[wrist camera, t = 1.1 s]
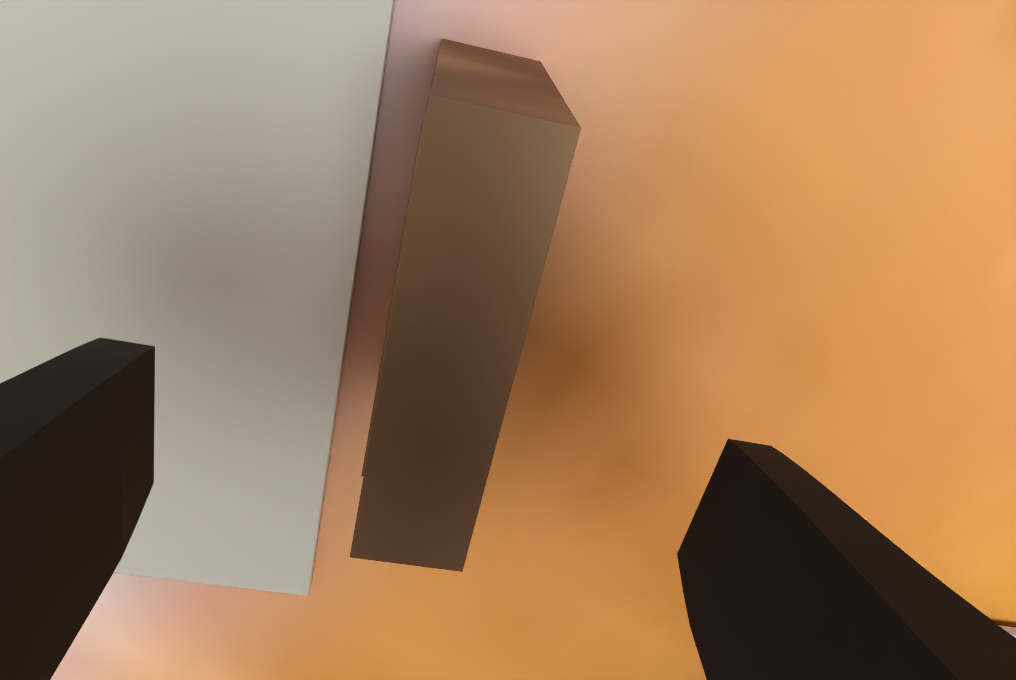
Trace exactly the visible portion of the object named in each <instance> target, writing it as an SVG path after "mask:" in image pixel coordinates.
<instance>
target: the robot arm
mask: <svg viewBox="0 0 1016 680" xmlns="http://www.w3.org/2000/svg"><path fill="white" fill-rule="evenodd" d="M154 405H155V346H150V345H144V344H138V343H132V342H126V341H120V340H113V339H107V338H101V337H100V338H97V339H95V340H92V341H90V342H87V343H85V344H83V345H80V346H78V347H76V348H74V349H71V350H69V351H67V352H65V353H63V354H61V355H59V356H56V357H54V358H52V359H50V360H48V361H46V362H44V363H42V364H40V365H38V366H35V367H33V368H31V369H29V370H27V371H25V372H23V373H21V374H19V375H17V376H15V377H13V378H11V379H8V380H6V381H4V382H2V383H0V680H50V679H51V677H52V676H53V674H54V672H55V671H56V669H57V667H58V666H59V664H60V662H61V661H62V659H63V657H64V656H65V654H66V652H67V651H68V649H69V647H70V646H71V644H72V642H73V640H74V639H75V637H76V635H77V634H78V632H79V630H80V629H81V627H82V625H83V624H84V622H85V620H86V619H87V617H88V615H89V614H90V612H91V610H92V608H93V607H94V605H95V603H96V602H97V600H98V598H99V596H100V595H101V593H102V591H103V590H104V588H105V586H106V584H107V583H108V581H109V579H110V578H111V576H112V574H113V572H114V571H115V569H116V567H117V565H118V564H119V562H120V560H121V558H122V557H123V554H124V552H125V550H126V547H127V545H128V543H129V541H130V538H131V536H132V534H133V532H134V529H135V527H136V525H137V522H138V520H139V518H140V515H141V513H142V510H143V508H144V506H145V503H146V501H147V498H148V496H149V493H150V491H151V489H152V486H153V484H154ZM677 556H678V562H679V568H680V574H681V580H682V587H683V593H684V598H685V603H686V608H687V613H688V618H689V623H690V627H691V631H692V634H693V637H694V640H695V644H696V647H697V650H698V653H699V656H700V660H701V663H702V666H703V669H704V672H705V675H706V678H707V680H1016V628H1015V627H1008V626H1000V625H997V624H996V623H995V622H993V621H992V620H991V619H990V618H988V617H987V616H986V615H984V614H983V613H982V612H980V611H979V610H978V609H976V608H975V607H974V606H972V605H971V604H970V603H968V602H967V601H966V600H964V599H963V598H962V597H961V596H959V595H958V594H957V593H955V592H954V591H953V590H951V589H950V588H949V587H947V586H946V585H945V584H944V583H942V582H941V581H940V580H939V579H937V578H936V577H935V576H934V575H932V574H931V573H930V572H929V571H927V570H926V569H925V568H923V567H922V566H921V565H920V564H918V563H917V562H916V561H915V560H914V559H912V558H911V557H910V556H909V555H907V554H906V553H905V552H904V551H902V550H901V549H900V548H899V547H898V546H896V545H895V544H894V543H893V542H891V541H890V540H889V539H888V538H887V537H885V536H884V535H883V534H882V533H881V532H879V531H878V530H877V529H876V528H875V527H873V526H872V525H871V524H870V523H868V522H867V521H866V520H865V519H864V518H862V517H861V516H860V515H859V514H858V513H856V512H855V511H854V510H853V509H852V508H850V507H849V506H848V505H847V504H846V503H844V502H843V501H842V500H841V499H840V498H838V497H837V496H836V495H835V494H834V493H832V492H831V491H830V490H829V489H828V488H826V487H825V486H824V485H823V484H821V483H820V482H819V481H818V480H816V479H815V478H814V477H813V476H811V475H810V474H809V473H808V472H806V471H805V470H804V469H803V468H801V467H800V466H799V465H797V464H796V463H795V462H793V461H792V460H791V459H789V458H788V457H787V456H785V455H784V454H782V453H781V452H779V451H778V450H776V449H775V448H773V447H772V446H769V445H763V444H756V443H750V442H744V441H738V440H732V439H728V440H727V442H726V445H725V447H724V449H723V451H722V454H721V456H720V458H719V460H718V463H717V465H716V467H715V469H714V472H713V474H712V476H711V479H710V481H709V483H708V485H707V488H706V490H705V492H704V494H703V497H702V499H701V501H700V503H699V506H698V508H697V510H696V512H695V515H694V517H693V519H692V522H691V524H690V526H689V528H688V531H687V533H686V535H685V537H684V540H683V542H682V544H681V546H680V549H679V551H678V553H677Z"/></svg>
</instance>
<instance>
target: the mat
mask: <svg viewBox="0 0 1016 680" xmlns="http://www.w3.org/2000/svg"><path fill="white" fill-rule="evenodd" d="M394 2H395V0H0V383H2V382H4V381H6V380H8V379H11V378H13V377H15V376H17V375H19V374H21V373H23V372H25V371H27V370H29V369H31V368H33V367H35V366H38V365H40V364H42V363H44V362H46V361H48V360H50V359H52V358H54V357H56V356H59V355H61V354H63V353H65V352H67V351H69V350H71V349H74V348H76V347H78V346H80V345H83V344H85V343H87V342H90V341H92V340H95V339H97V338H100V337H101V338H107V339H113V340H120V341H126V342H132V343H138V344H144V345H150V346H155V405H154V484H153V486H152V489H151V491H150V493H149V496H148V498H147V501H146V503H145V506H144V508H143V510H142V513H141V515H140V518H139V520H138V522H137V525H136V527H135V529H134V532H133V534H132V536H131V538H130V541H129V543H128V545H127V547H126V550H125V552H124V554H123V557H122V558H121V560H120V562H119V564H118V565H117V567H116V569H115V571H114V572H113V573H119V574H127V575H136V576H144V577H153V578H161V579H170V580H178V581H186V582H195V583H203V584H212V585H220V586H228V587H237V588H245V589H254V590H262V591H270V592H279V593H287V594H296V595H304V596H308V595H309V590H310V586H311V581H312V575H313V568H314V561H315V554H316V547H317V540H318V533H319V526H320V519H321V512H322V505H323V498H324V491H325V484H326V477H327V470H328V463H329V456H330V449H331V442H332V435H333V428H334V421H335V414H336V407H337V400H338V393H339V386H340V379H341V372H342V365H343V358H344V351H345V344H346V337H347V330H348V323H349V316H350V309H351V302H352V295H353V288H354V281H355V274H356V267H357V260H358V254H359V247H360V240H361V233H362V226H363V219H364V212H365V205H366V198H367V191H368V184H369V177H370V170H371V163H372V156H373V149H374V142H375V135H376V128H377V121H378V114H379V107H380V100H381V93H382V86H383V79H384V72H385V65H386V58H387V51H388V44H389V37H390V30H391V23H392V16H393V9H394Z"/></svg>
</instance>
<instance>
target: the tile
mask: <svg viewBox="0 0 1016 680" xmlns="http://www.w3.org/2000/svg"><path fill="white" fill-rule="evenodd" d="M580 129H581V127H580V126H579V124H578V122H577V121H576V119H575V118H574V116H573V114H572V113H571V111H570V109H569V108H568V106H567V104H566V103H565V101H564V99H563V98H562V96H561V95H560V93H559V91H558V90H557V88H556V86H555V85H554V83H553V81H552V80H551V78H550V77H549V75H548V73H547V72H546V70H545V68H544V67H543V65H542V63H541V62H540V61H535V60H531V59H527V58H523V57H518V56H514V55H510V54H506V53H501V52H497V51H493V50H489V49H484V48H480V47H476V46H471V45H467V44H463V43H459V42H454V41H450V40H446V39H442V41H441V45H440V49H439V54H438V58H437V63H436V67H435V72H434V76H433V81H432V85H431V90H430V94H429V99H428V103H427V108H426V112H425V117H424V121H423V126H422V130H421V135H420V139H419V143H418V148H417V153H416V159H415V165H414V170H413V176H412V182H411V188H410V194H409V200H408V206H407V212H406V217H405V223H404V229H403V235H402V241H401V247H400V253H399V259H398V264H397V270H396V276H395V282H394V288H393V294H392V300H391V306H390V311H389V317H388V323H387V329H386V335H385V341H384V347H383V353H382V358H381V364H380V370H379V376H378V382H377V388H376V394H375V400H374V405H373V411H372V417H371V423H370V429H369V435H368V441H367V447H366V452H365V458H364V464H363V470H362V476H364V478H363V484H362V489H361V495H360V501H359V507H358V513H357V518H356V524H355V530H354V536H353V542H352V548H351V553H350V557H352V558H360V559H368V560H376V561H383V562H391V563H399V564H407V565H415V566H422V567H430V568H438V569H446V570H454V571H461V572H462V571H463V567H464V563H465V559H466V556H467V552H468V548H469V544H470V541H471V537H472V533H473V529H474V526H475V522H476V518H477V514H478V511H479V507H480V503H481V500H482V496H483V492H484V488H485V485H486V481H487V477H488V473H489V470H490V466H491V462H492V458H493V455H494V451H495V447H496V443H497V440H498V436H499V432H500V428H501V425H502V421H503V417H504V414H505V410H506V406H507V402H508V399H509V395H510V391H511V387H512V384H513V380H514V376H515V372H516V369H517V365H518V361H519V357H520V354H521V350H522V346H523V342H524V339H525V335H526V331H527V328H528V324H529V320H530V316H531V313H532V309H533V305H534V301H535V298H536V294H537V290H538V286H539V283H540V279H541V275H542V271H543V268H544V264H545V260H546V257H547V253H548V249H549V245H550V242H551V238H552V234H553V230H554V227H555V223H556V219H557V215H558V212H559V208H560V204H561V200H562V197H563V193H564V189H565V185H566V182H567V178H568V174H569V171H570V167H571V163H572V159H573V156H574V152H575V148H576V144H577V141H578V137H579V133H580Z"/></svg>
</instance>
